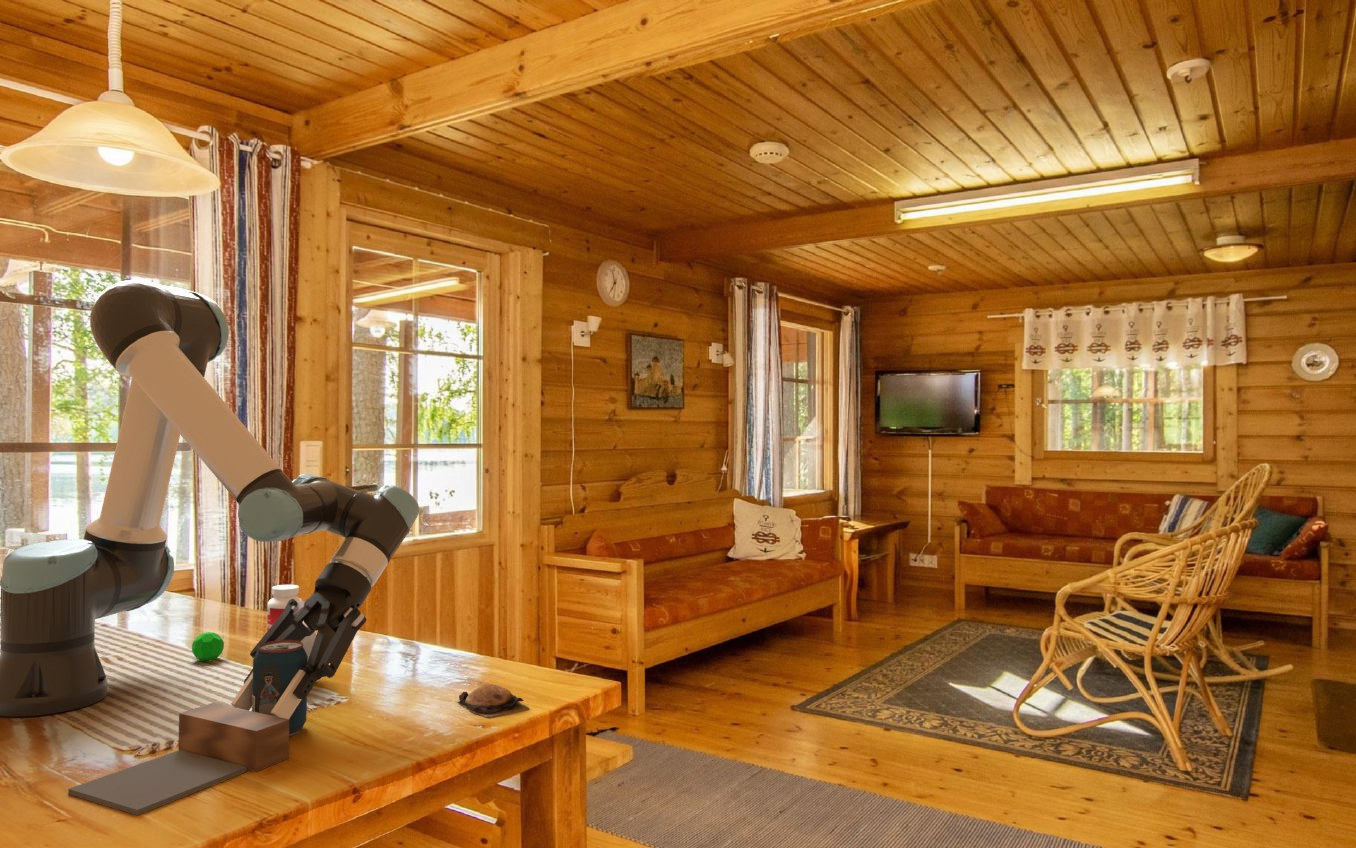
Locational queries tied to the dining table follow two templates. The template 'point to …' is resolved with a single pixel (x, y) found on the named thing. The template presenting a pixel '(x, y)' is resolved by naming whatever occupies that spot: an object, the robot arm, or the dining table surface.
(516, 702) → the brown domed piece
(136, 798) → the charcoal mat
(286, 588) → the pill bottle
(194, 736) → the walnut block
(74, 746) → the dining table surface
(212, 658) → the polyhedron
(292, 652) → the soda can
